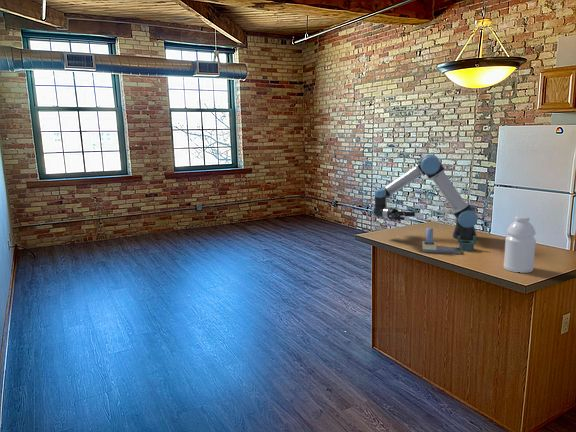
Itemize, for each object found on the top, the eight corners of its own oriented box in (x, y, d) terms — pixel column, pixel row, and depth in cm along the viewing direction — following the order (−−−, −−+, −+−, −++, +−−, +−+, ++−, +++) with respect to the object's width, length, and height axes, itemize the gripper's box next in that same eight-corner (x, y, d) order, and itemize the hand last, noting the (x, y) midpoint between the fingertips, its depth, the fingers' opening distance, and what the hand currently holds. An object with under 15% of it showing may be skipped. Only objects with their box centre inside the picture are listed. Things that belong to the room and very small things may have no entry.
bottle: (511, 273, 214) (515, 220, 209) (498, 265, 228) (501, 214, 223) (539, 272, 214) (543, 219, 209) (524, 264, 228) (528, 214, 223)
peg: (432, 247, 260) (432, 228, 258) (432, 248, 257) (433, 229, 254) (425, 246, 262) (426, 228, 259) (425, 248, 258) (426, 229, 256)
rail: (459, 250, 258) (460, 242, 257) (461, 254, 250) (461, 246, 249) (422, 248, 264) (422, 241, 263) (422, 252, 257) (422, 244, 256)
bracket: (476, 250, 259) (477, 235, 257) (467, 252, 254) (467, 237, 253) (464, 247, 266) (465, 233, 265) (454, 249, 262) (455, 235, 260)
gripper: (403, 216, 291) (429, 220, 273) (377, 221, 277) (402, 226, 260) (403, 205, 289) (429, 208, 272) (377, 210, 276) (402, 214, 258)
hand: (416, 217), depth 266 cm, fingers open, 13 cm apart
